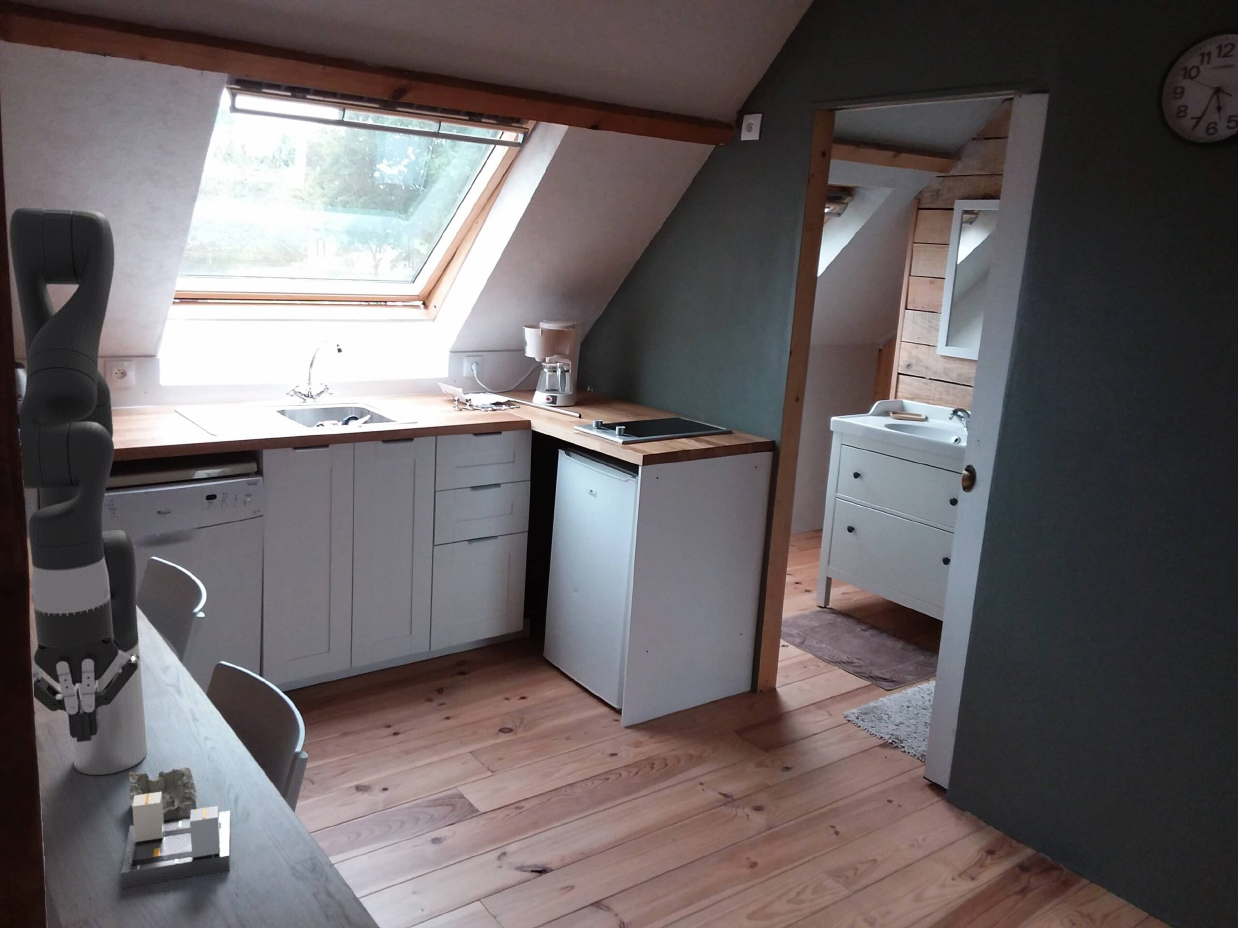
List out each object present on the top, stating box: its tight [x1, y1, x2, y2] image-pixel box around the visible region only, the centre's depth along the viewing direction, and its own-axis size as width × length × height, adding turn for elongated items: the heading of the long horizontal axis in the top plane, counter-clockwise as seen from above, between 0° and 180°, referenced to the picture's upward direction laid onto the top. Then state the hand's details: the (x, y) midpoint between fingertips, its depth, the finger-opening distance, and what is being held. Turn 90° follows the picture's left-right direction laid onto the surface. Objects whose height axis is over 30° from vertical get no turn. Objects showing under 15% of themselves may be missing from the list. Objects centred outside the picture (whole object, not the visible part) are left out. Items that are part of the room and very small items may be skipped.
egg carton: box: [128, 767, 198, 820], centre depth 128 cm, size 11×8×4 cm
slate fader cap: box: [190, 805, 220, 858], centre depth 117 cm, size 2×3×5 cm
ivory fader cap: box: [131, 792, 164, 842], centre depth 120 cm, size 2×3×5 cm
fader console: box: [120, 810, 232, 889], centre depth 120 cm, size 10×12×2 cm
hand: (85, 737), depth 115 cm, fingers closed
